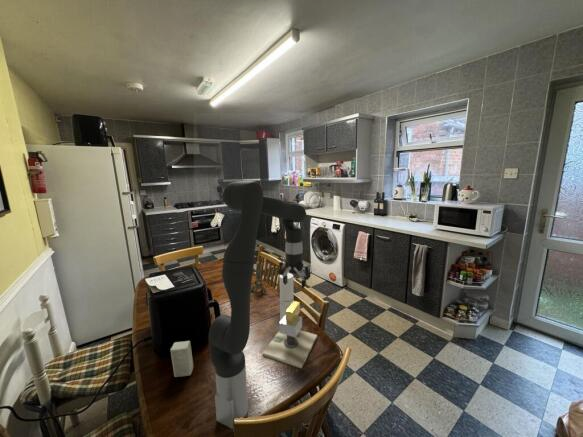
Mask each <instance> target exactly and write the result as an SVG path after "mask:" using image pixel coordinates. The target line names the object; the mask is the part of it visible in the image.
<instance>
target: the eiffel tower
mask: <svg viewBox="0 0 583 437" xmlns="http://www.w3.org/2000/svg"><path fill="white" fill-rule="evenodd" d="M256 258H257V261H256V263H255V265H256V269H255V270H256V271H255V274H256V275H255V277H254V279H255V280H254V283H253V285H252V286H251V291H253V292H252V295H251V296H253V297H254V298H258V295H257V294H258V290H260V289H262V290H261V291H263V294H264V295H265V294H266V293H267V292H268V291H267V290H266V287H265V286H264V284H263V282H262V280H263V278H262V277H261V271H260V261H259V259H258V258H259V257H258V256H257V257H256ZM264 287H265V288H264ZM253 297H252V298H253Z"/></svg>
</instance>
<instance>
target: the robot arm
mask: <svg viewBox="0 0 583 437" xmlns="http://www.w3.org/2000/svg"><path fill="white" fill-rule="evenodd" d="M224 187H225V188H224V189H223V193H222V198H223V202H224V204H225V206H227V208H229V209H230V210H233V211H235V212H236V211H237V212H241V213H240V220H239V225H238V227H237V230H236V232H235V234H234V236H233V238H232V239H231V240H230V242H229V243H228V245H227V247H226V248H225V251H224V253H223V260H222V266H221V267H222V270H221V278H222V282H223V285H224V289H225V291H226V293H227V297H228V300H229V303H230V315H228V314H221V315H219V316H217V317H216V318H215V319H214V320H213V321H212V323H211V324H210V325H211V326H210V328H209V331H208V332H209V333H208V345H209V352H210V353H209V354H210V359H211V363H212V365H213V367H214V373H215V384H216V386H215V387H216V393H215V395H214V403H215V404H214V406H215V413H216V415H215V417H216V421H217V422H218V423H220V424H222V425H224V426H226V427H228V428H230V429H234V427H233V420H234V419H235V418H240V417H245V418H246V417H247V414H248V410H249V404H248V387H247V385H248V384H247V367H246V355H245V354H244V352H243V351H244V350H245V348H246V346H247V344H248V342H249V336H250V329H251V328H250V327H251V326H250V325H251V323H250V321H251V296H252V295H251V293H252V292H251V288H252V282H253V275H254V274H253V273H254V267H255V266H254V265H255V253H256V246H257V245H256V243H257V238H258V237H257V236H258V229H259V224H260V219H261V215H263V214H264V215H267V216H270V217H273V218H277V219H280V220H281V221H282V223H283V228H284V230H285V231H284V232H285V245H284V247H285V250H284V251H285V260H281V261H280V262H279V263H278V274H279V276H280V275H282V276H283V283H284V284H285V285H286V284H287V282H288V280H287V274H288V273H291V274H295V275H298V277H300V278H301V288H302V289H304V288H305V287H306V285H307V281H309V279H310V278H311V266H310V264H307V265H306V264H303V263H304V259H303V257H304V256H303V252H304V251H303V250H304V249H303V246H304V245H303V231H302V230H303V229H302V228H301V227H299V226H297V225H295V224H294V223H302V222H304V221H305V219H306V217H307V212H306V208H304V207H303V206H302V205H299V204H295V203H291V202H288V201H285V200H282V199H280V198H278V197H272V196H268V195H264V191H263V187H262V185H261V184H260V183H259V182H258V181H254V180H253V181H252V180H251V181H250V180H245V181H243V180H242V181H241V180H239V181H231V182H230V183H228V184H227V185H225V186H224ZM284 267H286V269H285V268H284ZM284 269H285V270H284Z"/></svg>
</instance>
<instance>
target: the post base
mask: <svg viewBox="0 0 583 437" xmlns="http://www.w3.org/2000/svg"><path fill="white" fill-rule="evenodd" d="M317 339H318V334H315V333H311V332H308V331H305V330H304V331H303V330H301V329H300V331H299V333H298V334H297V336H296V337H292V336H289V335H285V334H282V333H280V331H279V330H278V331H277V332H276V334H275V336H274V337H273V338H272V339H271V341H270V342H269V344H268V345H267V346H266V347H265V349H264V350H263V352H262V356H264V357H267V358H270V359H273V360H275V361H279V362H281V363H285V364H288V365H290V366H293V367H296V368H299V369H302V368H303V366H304V365H305V362H306V361H307V358H308V356H309V354H310V353H311V350H312V348H313V346H314V345H315V342H316V340H317Z"/></svg>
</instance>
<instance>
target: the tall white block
mask: <svg viewBox="0 0 583 437" xmlns="http://www.w3.org/2000/svg"><path fill="white" fill-rule="evenodd" d="M293 274H294V273H290V272H289V273H288V274H287V280H288V282H287V284H286V285H285V284H284V283H283V276H282V275H279V277H278V278H279V313H280V317H279V318H280V319H279V320H280V321H281V320H282V319H283V317H284V316H285V315H286V310H287V309H288V308H289V306H290V305H291V304H292V303H293V301H295V300H294V275H293Z"/></svg>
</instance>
